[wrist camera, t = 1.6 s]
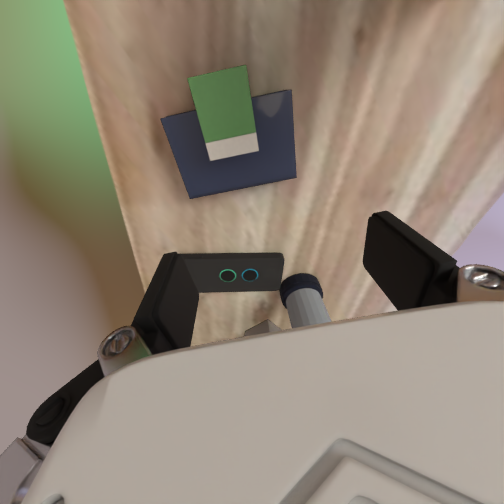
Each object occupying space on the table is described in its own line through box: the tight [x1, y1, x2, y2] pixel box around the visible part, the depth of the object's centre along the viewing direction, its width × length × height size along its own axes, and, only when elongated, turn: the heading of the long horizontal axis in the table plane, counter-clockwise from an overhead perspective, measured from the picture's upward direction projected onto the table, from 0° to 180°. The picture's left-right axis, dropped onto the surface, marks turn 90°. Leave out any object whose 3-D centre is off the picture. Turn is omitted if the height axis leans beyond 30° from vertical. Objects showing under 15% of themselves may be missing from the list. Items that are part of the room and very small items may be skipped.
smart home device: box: [181, 253, 284, 293], centre depth 40 cm, size 8×2×20 cm
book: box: [161, 90, 297, 199], centre depth 27 cm, size 9×14×3 cm, turn 100°
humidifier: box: [279, 273, 332, 328], centre depth 35 cm, size 8×8×25 cm
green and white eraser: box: [187, 65, 259, 161], centre depth 23 cm, size 7×5×3 cm
